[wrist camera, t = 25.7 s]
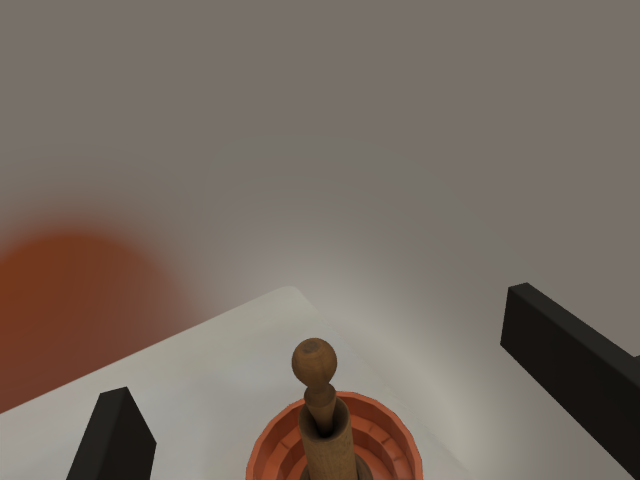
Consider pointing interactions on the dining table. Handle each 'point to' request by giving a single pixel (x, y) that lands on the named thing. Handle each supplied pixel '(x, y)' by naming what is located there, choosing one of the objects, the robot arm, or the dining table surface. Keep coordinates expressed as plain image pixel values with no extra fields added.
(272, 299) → the dining table surface
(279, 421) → the bowl
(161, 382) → the dining table surface
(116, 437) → the robot arm
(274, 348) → the dining table surface
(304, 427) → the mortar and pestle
